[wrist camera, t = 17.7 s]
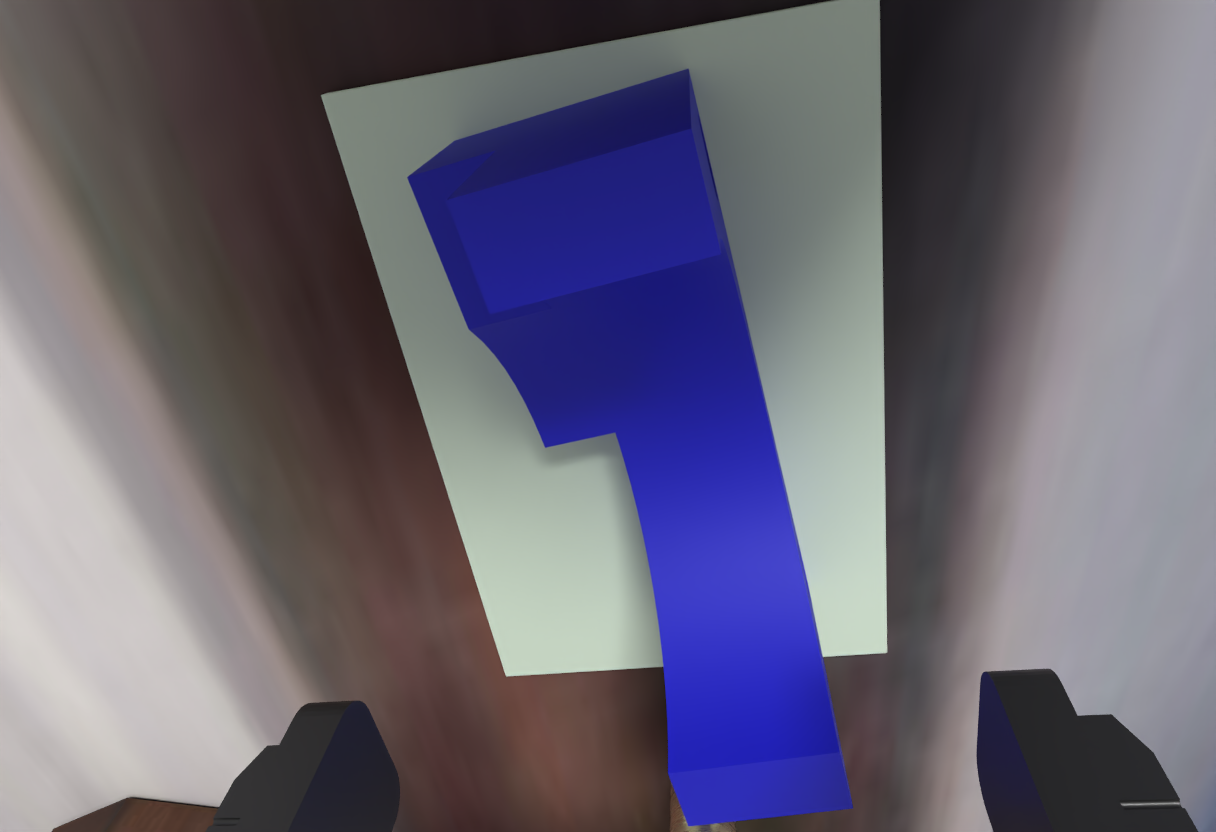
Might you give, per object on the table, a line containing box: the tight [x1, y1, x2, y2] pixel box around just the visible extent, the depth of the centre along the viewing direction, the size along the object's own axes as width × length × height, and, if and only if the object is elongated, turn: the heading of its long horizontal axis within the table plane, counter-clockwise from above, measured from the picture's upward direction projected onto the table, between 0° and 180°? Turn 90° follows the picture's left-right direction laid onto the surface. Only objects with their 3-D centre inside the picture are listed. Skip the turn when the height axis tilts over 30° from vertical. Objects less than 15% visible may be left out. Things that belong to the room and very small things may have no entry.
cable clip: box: [407, 68, 853, 826], centre depth 15 cm, size 12×4×6 cm, turn 17°
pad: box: [321, 0, 887, 676], centre depth 18 cm, size 10×15×1 cm, turn 10°
